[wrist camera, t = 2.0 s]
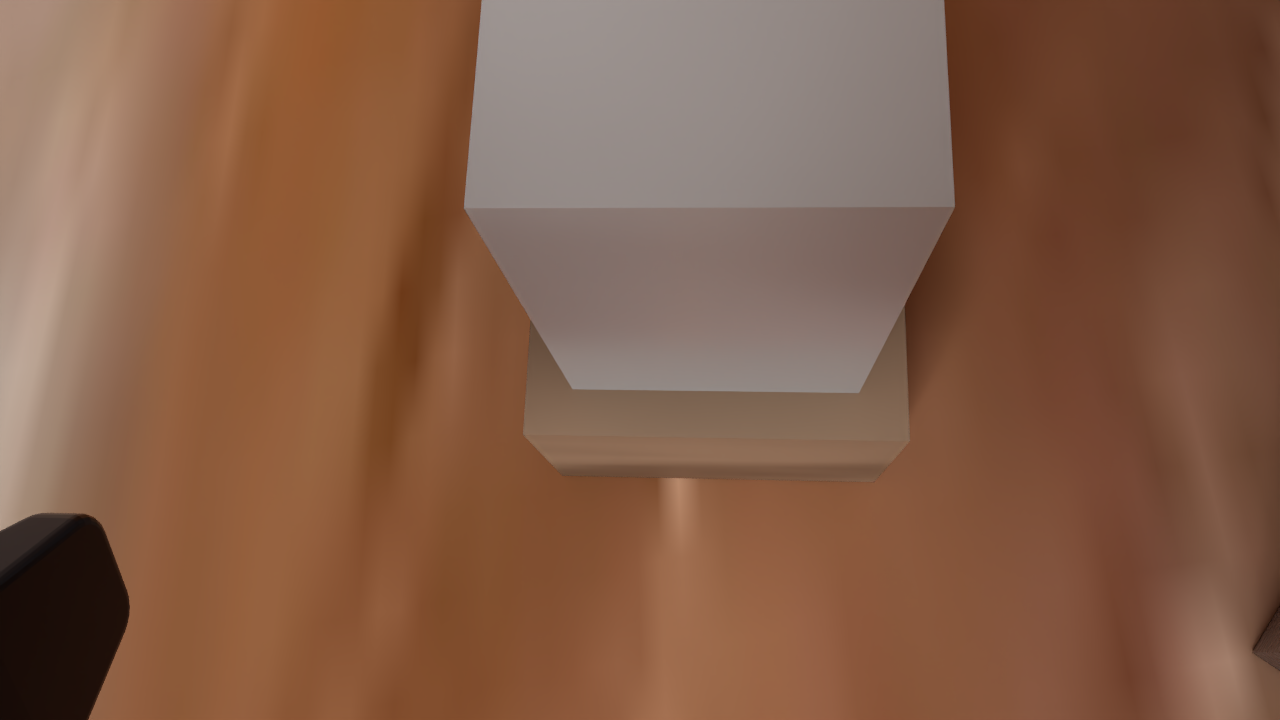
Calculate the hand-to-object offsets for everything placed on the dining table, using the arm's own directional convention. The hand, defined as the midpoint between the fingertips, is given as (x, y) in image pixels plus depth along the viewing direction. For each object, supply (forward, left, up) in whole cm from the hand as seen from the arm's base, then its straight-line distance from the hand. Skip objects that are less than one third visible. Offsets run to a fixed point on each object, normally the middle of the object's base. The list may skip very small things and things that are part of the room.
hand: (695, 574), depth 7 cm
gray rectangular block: (+3, +5, -8) cm, 10 cm away
